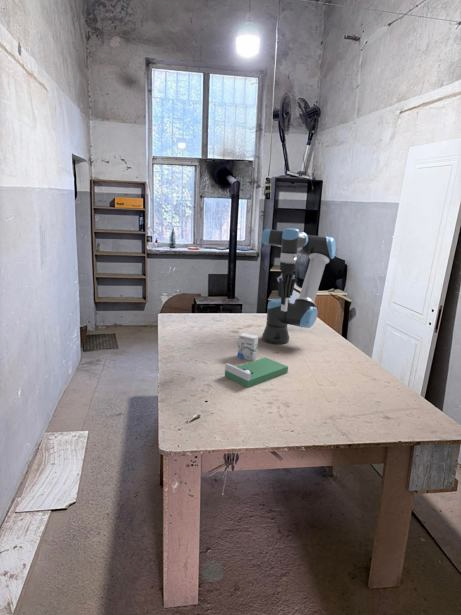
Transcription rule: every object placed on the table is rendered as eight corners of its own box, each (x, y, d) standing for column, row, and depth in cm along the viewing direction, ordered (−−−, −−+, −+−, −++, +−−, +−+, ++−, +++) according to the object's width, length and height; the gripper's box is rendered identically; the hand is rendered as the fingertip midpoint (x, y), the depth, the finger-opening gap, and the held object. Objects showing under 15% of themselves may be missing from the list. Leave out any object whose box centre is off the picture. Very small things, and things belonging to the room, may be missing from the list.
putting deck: (224, 376, 185) (225, 363, 183) (264, 363, 202) (265, 351, 201) (247, 387, 175) (248, 374, 174) (287, 372, 193) (288, 360, 191)
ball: (246, 375, 187) (240, 378, 184) (246, 367, 185) (239, 370, 183) (253, 378, 184) (246, 382, 181) (252, 370, 182) (246, 373, 180)
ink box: (236, 357, 208) (238, 334, 205) (241, 354, 212) (242, 332, 209) (252, 361, 204) (254, 338, 201) (257, 358, 208) (258, 335, 205)
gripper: (285, 264, 191) (281, 314, 197) (303, 262, 200) (298, 310, 206) (272, 261, 196) (269, 310, 202) (290, 260, 205) (286, 307, 211)
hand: (283, 310), depth 204 cm, fingers closed
